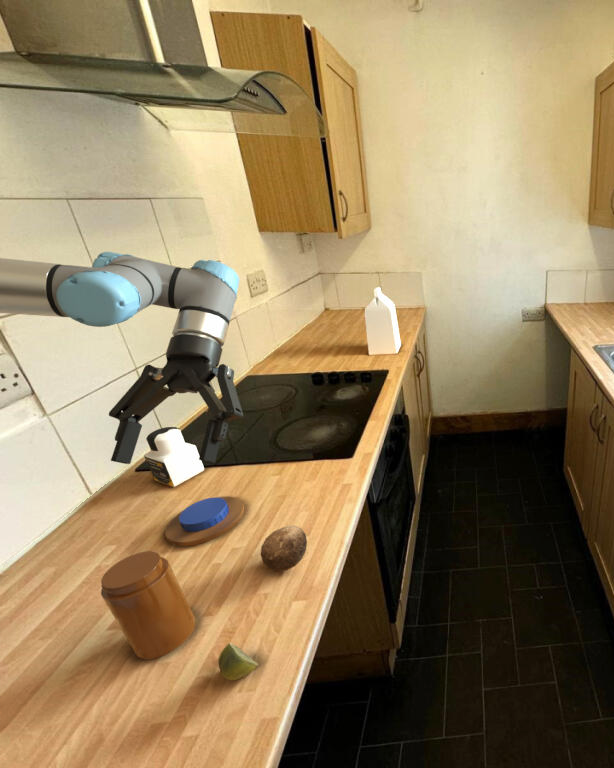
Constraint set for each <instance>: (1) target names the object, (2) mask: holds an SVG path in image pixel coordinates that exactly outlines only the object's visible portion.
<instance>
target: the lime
mask: <svg viewBox="0 0 614 768" xmlns="http://www.w3.org/2000/svg"><path fill="white" fill-rule="evenodd" d="M217 664H218V669H219V674H220V675H221V676H222V677H223V678H225V679H227V680H229V681H237V680H239V679H242V678H244V677H247V676H248V675H250V674H251V673H253V672H254V671H255V670H256V669H257V667H258V666H259V663H258V662H257V661H255V660H254V658H252V657H251V656H250V655H248V654H247V653H245V652H244V651H243V650H242V649H241V648H240V647H238V646H236V645H235V644H233V643H231V642H229V643H227V644H226V646H224V647H223V649H222V650H221V652H220V654H219V656H218V661H217Z"/></svg>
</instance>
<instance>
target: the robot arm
mask: <svg viewBox="0 0 614 768" xmlns="http://www.w3.org/2000/svg"><path fill="white" fill-rule="evenodd" d="M239 285H240V277H239V275H238V273H237V272H236V271H235V270H234V269H233V268H231V267H230V266H228V265H227V264H226V263H222V262H221V261H217V260H214V259H208V260H205V259H199V260H197V261H195V262H194V263H193V265H192V266H191V267H190V268H186V267H180V266H176V265H175V266H174V265H171V264H167V263H162V262H158V261H155V260H149V259H145V258H141V257H137V256H134V255H133V254H129V253H124V254H122V253H118V252H113V251H103V252H100V253H99V254H98V255H97V257H96V258H94V260H93V262H92V265H91V267H90V266H81V265H73V264H61V263H55V262H42V261H34V260H24V259H13V258H6V257H5V258H3V257H0V314H9V315H25V316H26V315H27V316H39V317H59V318H70V319H71V320H74V321H75V322H78V323H80V324H81V325H82V324H83V325H86V326H89V327H94V328H95V327H96V328H106V327H110V326H115V325H116V324H122V323H124V322H126V321H128V320H130V319H131V318H133V317H134V316H135V315H137V314H138V313H140V312H141V311H143V310H145V309H146V308H148V307H150V306H158V307H163V308H168V309H174V310H178V314H177V317H176V321H175V323H174V326H173V329H172V332H171V334H172V336H171V337H170V339H169V342H168V346H167V348H166V351H165V358H166V363H165V364H164V366H163V367H155V366H153V365H151V364H146V365H145V366H144V367H143V370H142V372H141V374H140V376H139V377H138V378H137V379H136V381H134V383H133V384H132V385H131V386H130V388H129V389H128V390H127V391H126V392H125V393H124V395H123V396H122V397H121V398H120V399H119V400H118V401H117V403H116V404H115V405H114V406H113V407H112V408H111V409H110V410H109V412H108V416H109V417H111V418H113V419H116V420H118V422H119V423H118V426H117V430H116V433H115V436H114V441H115V446H114V449H113V452H112V455H111V458H110V461H111V462H115V463H119V464H124V465H131V462H132V459H133V456H134V453H135V450H136V447H137V443H138V440H139V437H140V433H141V431H142V427H143V424H141V423H140V421H142V419H144V418H145V417H146V416H148V414H150V413H152V411H153V410H155V409H156V408H157V407H158V406H159V405H161V404H162V403H163V402H164V401H165V400H167V399H168V398H169V397H173V396H174V395H176V394H186V393H191V394H199V395H200V397H201V398H202V400H203V401H204V403H205V405H206V406H207V408H208V409H209V410H210V412H211V414H212V418H213V419H208V422H207V426H206V429H205V434H204V438H203V442H202V446H201V449H200V453H199V456H200V457H199V460H201V461H202V462H206V463H210V464H215V463H216V460H217V456H218V452H219V448H220V443H221V442H224V441H225V440H226V437H227V432H228V429H229V425H230V423H231V422H232V421H235V420H241V419H243V418H244V412H243V409H242V406H241V403H240V399H239V396H238V392H237V389H236V385H235V382H234V376H235V370H234V369H233V368H231V367H229V366H228V365H226V364H225V363H221V364H220V361H221V358H222V354H223V348H222V347H223V346H224V345H225V341H226V337H227V333H228V330H229V326H230V322H231V319H232V315H233V311H234V307H235V304H236V301H237V298H238V290H239ZM215 378H216V379H217V383H218V386H219V390H220V393H221V397H222V401H223V403H222V401H221V400H220V397H218V395H217V394H216V390H215V388H214V387H213V385H212V384H211V382H212V381H213V380H214V379H215ZM166 386H167V387H166Z"/></svg>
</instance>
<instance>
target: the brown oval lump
mask: <svg viewBox="0 0 614 768" xmlns="http://www.w3.org/2000/svg"><path fill="white" fill-rule="evenodd" d="M307 546H308V539H307V535H306V533H305V531H304V530H303V529H302V527H300V526H297V525H294V524H293V525H291V524H290V525H287V526H283V527H280V528H278V529H275V530H274V531H273V532H272V533H270V534H269V535H268V536H267V537H265V539H264V541H263V543H262V545H261V547H260V558H261V560H262V563H263V564H264V565H265V567H267V568H268V569H270V570H273V571H277V572H286V571H289V570H291V569H292V568H295V567H296V566H297V565H298V564H299V563H300V562H301V561H302V560H303V558H304V556H305V553H306V551H307Z"/></svg>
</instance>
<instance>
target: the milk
mask: <svg viewBox="0 0 614 768" xmlns="http://www.w3.org/2000/svg"><path fill="white" fill-rule="evenodd" d="M373 295H374V298H373V299H372V300H371V301H370V302H369V304H368V305H367V306H365V308H364V321H365V331H366V341H367V348H368V350H367V351H368V355H370V356H371V355H376V356H377V355H393V354H394V355H396V354H398V352H399V350H400V348H401V346H402V342H401V337H400V329H399V323H398V318H397V310H396V305H395V303H394V302H393V301H392V300H391V299H390V298H389V297H387V296H386V295H385V294H383V292H382V290H381V286H376V287H375V288H374V289H373Z"/></svg>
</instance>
